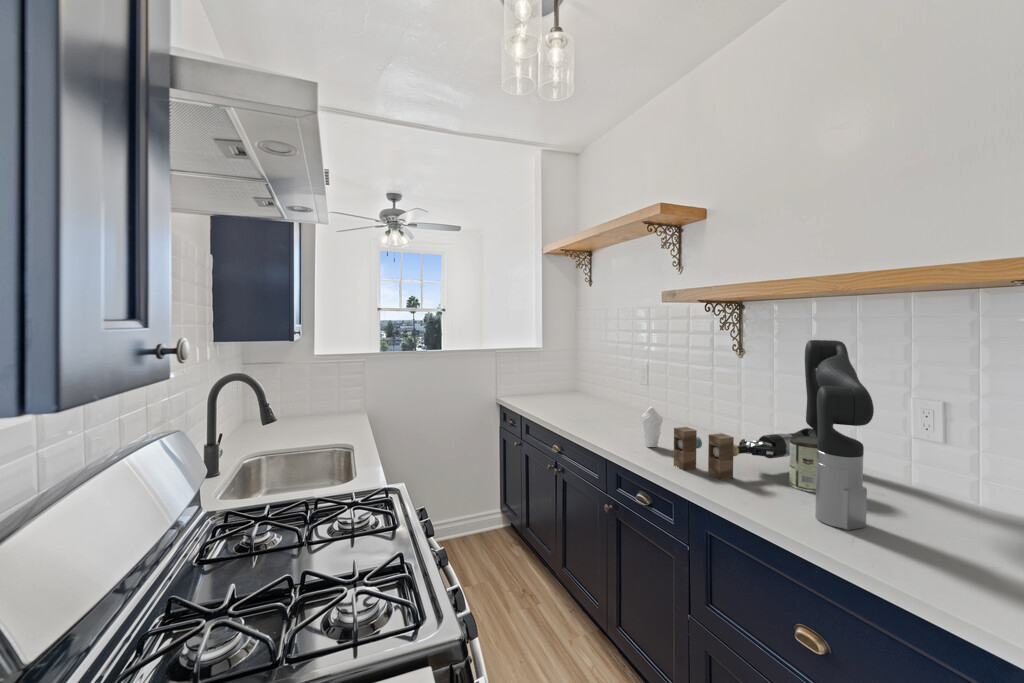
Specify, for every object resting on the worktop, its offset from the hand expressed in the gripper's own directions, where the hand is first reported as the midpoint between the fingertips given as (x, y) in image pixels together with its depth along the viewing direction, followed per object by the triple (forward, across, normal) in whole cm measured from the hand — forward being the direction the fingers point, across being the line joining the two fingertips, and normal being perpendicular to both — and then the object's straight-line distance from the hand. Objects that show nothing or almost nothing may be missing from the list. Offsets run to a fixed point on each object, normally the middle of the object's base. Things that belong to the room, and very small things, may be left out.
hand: (734, 450), depth 144 cm
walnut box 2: (+5, 0, +8) cm, 10 cm away
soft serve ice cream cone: (+7, -36, +8) cm, 38 cm away
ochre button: (+3, 0, +2) cm, 4 cm away
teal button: (+8, -11, +2) cm, 14 cm away
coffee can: (-13, +15, +8) cm, 22 cm away
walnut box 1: (+10, -11, +8) cm, 17 cm away
